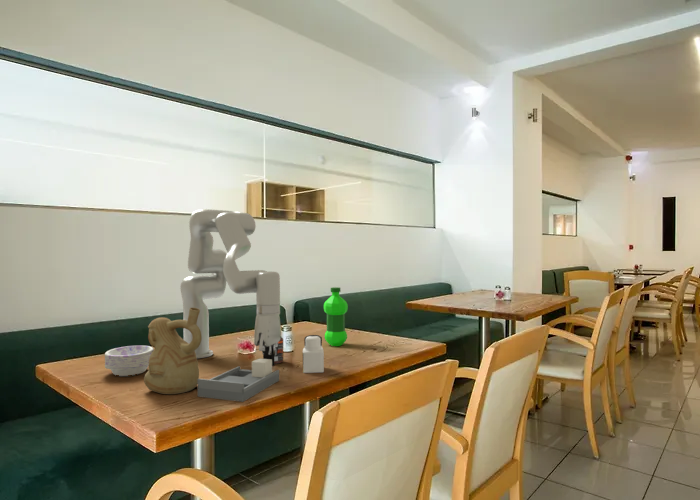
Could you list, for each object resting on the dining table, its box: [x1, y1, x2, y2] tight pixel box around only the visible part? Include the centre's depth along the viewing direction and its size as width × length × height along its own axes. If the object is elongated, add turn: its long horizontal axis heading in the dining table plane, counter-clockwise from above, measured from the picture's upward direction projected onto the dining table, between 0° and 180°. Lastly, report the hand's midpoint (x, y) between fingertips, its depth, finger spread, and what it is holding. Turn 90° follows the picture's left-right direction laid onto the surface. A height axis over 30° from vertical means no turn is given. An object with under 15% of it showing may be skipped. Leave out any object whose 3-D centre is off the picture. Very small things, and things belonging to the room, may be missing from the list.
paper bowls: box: [104, 345, 155, 377], centre depth 159 cm, size 15×15×8 cm
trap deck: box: [197, 365, 280, 403], centre depth 141 cm, size 15×22×5 cm
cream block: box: [251, 358, 273, 377], centre depth 146 cm, size 5×5×5 cm
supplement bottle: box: [273, 336, 284, 365], centre depth 172 cm, size 6×6×11 cm
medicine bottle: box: [302, 334, 325, 374], centre depth 161 cm, size 7×7×12 cm
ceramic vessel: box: [143, 308, 202, 395], centre depth 140 cm, size 17×20×25 cm
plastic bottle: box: [323, 286, 349, 347], centre depth 202 cm, size 10×10×25 cm
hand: (268, 366), depth 150 cm, fingers closed
